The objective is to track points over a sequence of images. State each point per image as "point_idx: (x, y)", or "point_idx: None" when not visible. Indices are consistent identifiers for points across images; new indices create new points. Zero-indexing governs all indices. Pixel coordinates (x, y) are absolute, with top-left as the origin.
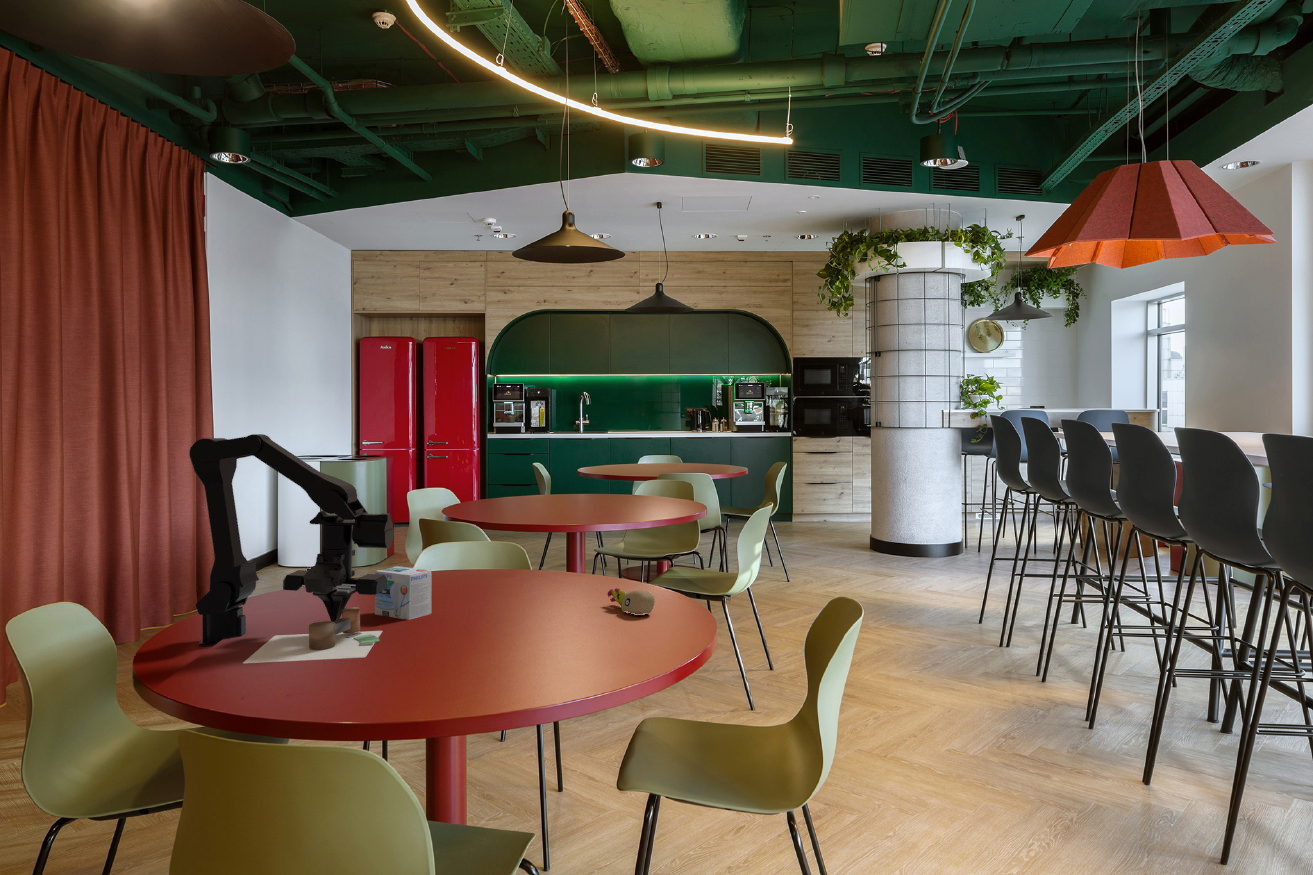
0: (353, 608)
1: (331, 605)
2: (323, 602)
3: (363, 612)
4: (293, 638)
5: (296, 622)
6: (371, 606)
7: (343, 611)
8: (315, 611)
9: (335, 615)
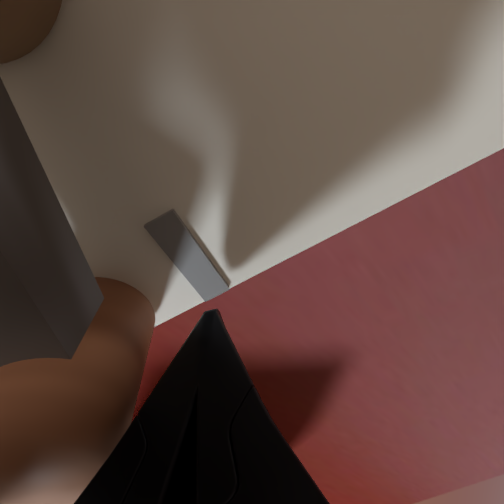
0: (34, 496)
1: (198, 463)
2: (312, 481)
3: (339, 467)
4: (375, 119)
5: (482, 361)
6: (350, 490)
7: (25, 423)
8: (466, 430)
9: (177, 367)
